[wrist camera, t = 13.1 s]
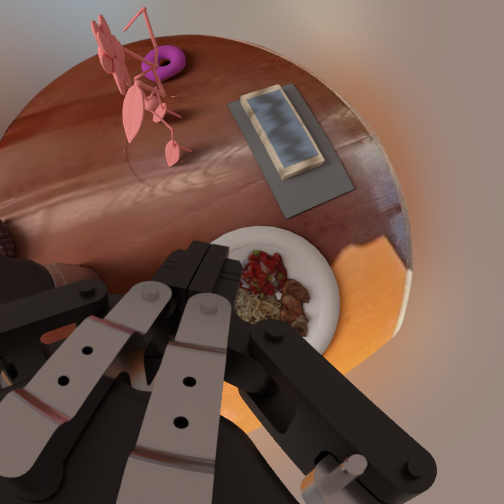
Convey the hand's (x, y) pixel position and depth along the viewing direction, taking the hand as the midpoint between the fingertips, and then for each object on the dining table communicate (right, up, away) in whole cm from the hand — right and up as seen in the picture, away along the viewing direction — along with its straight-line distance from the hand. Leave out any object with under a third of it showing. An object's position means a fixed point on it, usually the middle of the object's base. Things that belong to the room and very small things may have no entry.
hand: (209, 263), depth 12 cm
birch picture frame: (+12, +16, +42) cm, 47 cm away
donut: (-19, +45, +46) cm, 67 cm away
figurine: (-18, +23, +44) cm, 53 cm away
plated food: (+3, -10, +42) cm, 44 cm away
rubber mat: (+10, +23, +45) cm, 51 cm away
